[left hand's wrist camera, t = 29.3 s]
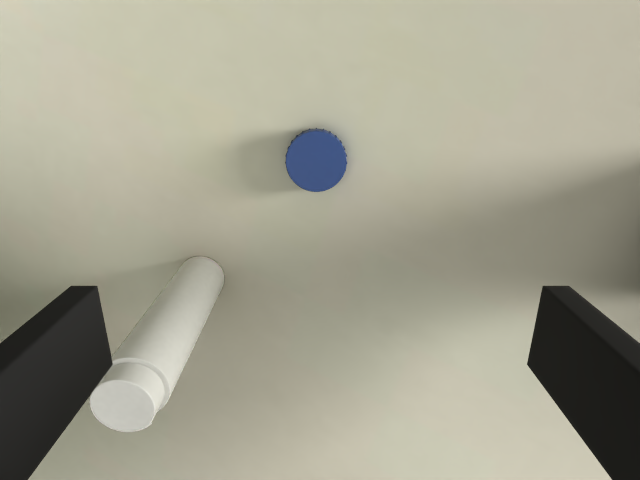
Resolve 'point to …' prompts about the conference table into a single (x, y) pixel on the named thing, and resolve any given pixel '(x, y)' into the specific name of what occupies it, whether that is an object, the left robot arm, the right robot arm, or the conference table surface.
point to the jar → (157, 348)
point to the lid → (316, 160)
